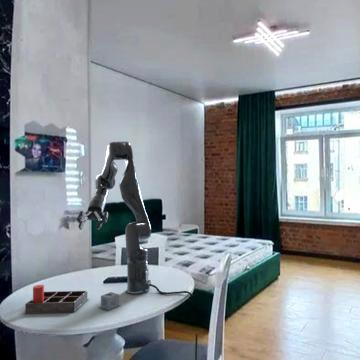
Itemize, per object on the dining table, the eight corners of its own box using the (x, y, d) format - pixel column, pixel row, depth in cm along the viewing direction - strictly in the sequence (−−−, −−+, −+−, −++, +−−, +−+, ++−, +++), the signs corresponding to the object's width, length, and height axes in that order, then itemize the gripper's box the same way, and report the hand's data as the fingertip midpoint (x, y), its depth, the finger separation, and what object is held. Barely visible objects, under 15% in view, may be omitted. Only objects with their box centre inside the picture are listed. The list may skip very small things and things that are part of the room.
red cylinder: (45, 305, 129) (45, 284, 129) (40, 309, 125) (40, 287, 125) (36, 306, 129) (36, 284, 129) (30, 310, 125) (30, 288, 125)
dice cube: (111, 303, 134) (111, 291, 134) (118, 305, 131) (118, 294, 131) (100, 307, 130) (100, 295, 130) (108, 310, 127) (108, 298, 127)
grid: (87, 299, 138) (87, 290, 138) (74, 312, 125) (74, 302, 125) (43, 300, 136) (43, 291, 136) (25, 313, 124) (25, 303, 124)
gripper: (81, 199, 163) (71, 224, 152) (109, 199, 164) (101, 224, 153) (86, 208, 169) (76, 233, 157) (112, 208, 170) (105, 232, 158)
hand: (89, 228), depth 155 cm, fingers open, 8 cm apart
